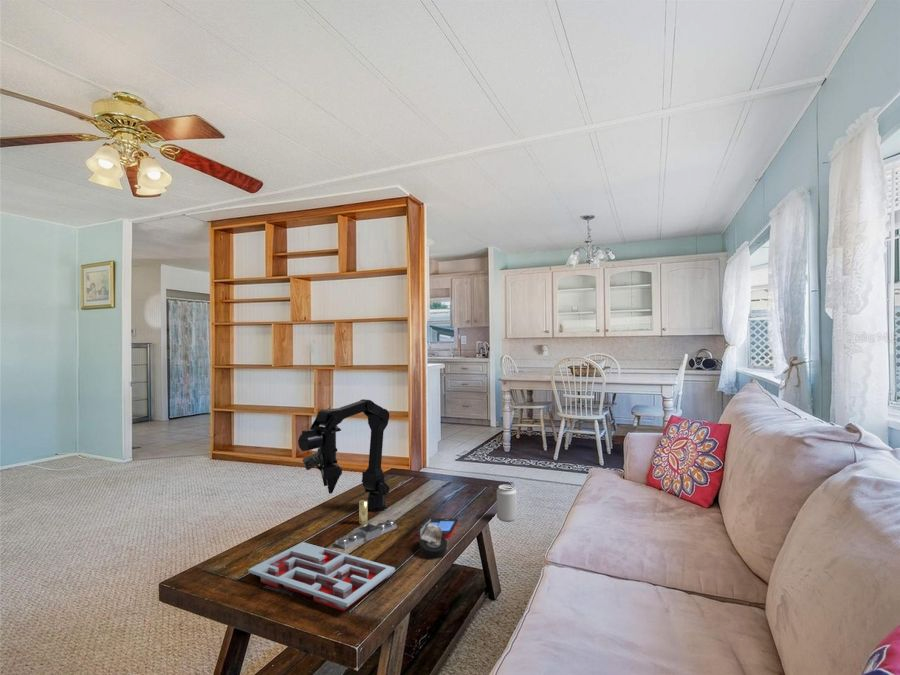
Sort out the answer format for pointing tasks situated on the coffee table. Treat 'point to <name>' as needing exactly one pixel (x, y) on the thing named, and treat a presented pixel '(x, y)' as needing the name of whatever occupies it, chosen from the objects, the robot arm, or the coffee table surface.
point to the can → (506, 503)
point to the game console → (442, 526)
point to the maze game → (322, 574)
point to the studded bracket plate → (365, 533)
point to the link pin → (363, 512)
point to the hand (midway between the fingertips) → (328, 489)
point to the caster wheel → (432, 541)
